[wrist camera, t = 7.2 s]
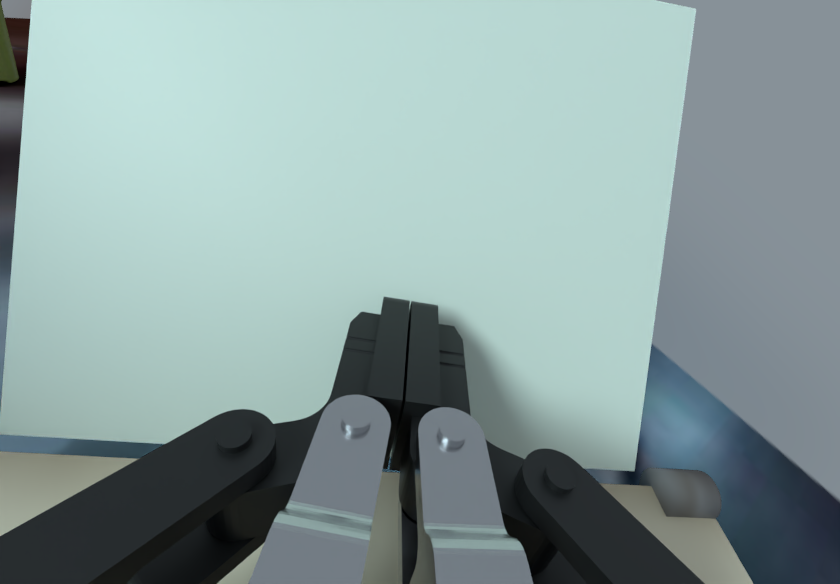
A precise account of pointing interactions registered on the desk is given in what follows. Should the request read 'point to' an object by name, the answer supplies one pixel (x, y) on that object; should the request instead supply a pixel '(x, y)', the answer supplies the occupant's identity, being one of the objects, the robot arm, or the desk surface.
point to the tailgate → (341, 208)
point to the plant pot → (6, 54)
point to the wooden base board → (648, 502)
